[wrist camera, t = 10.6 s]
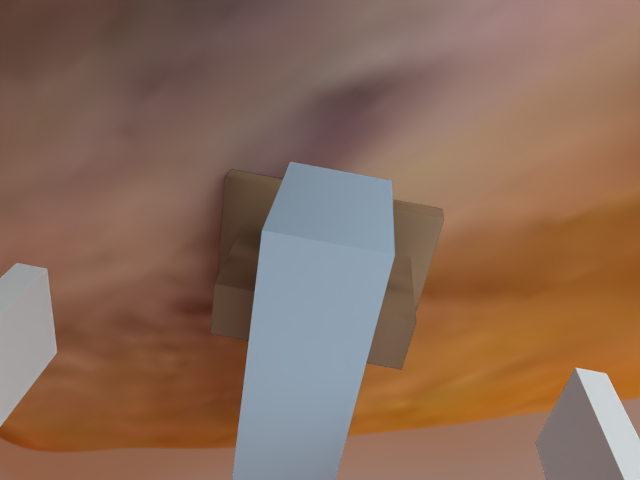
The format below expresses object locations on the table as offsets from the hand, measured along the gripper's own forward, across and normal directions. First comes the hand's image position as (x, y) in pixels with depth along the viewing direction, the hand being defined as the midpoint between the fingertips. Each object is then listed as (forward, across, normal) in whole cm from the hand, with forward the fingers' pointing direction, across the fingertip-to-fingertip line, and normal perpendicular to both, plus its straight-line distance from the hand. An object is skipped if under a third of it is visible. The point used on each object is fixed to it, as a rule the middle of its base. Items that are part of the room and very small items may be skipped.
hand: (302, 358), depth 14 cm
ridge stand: (+13, 0, +5) cm, 14 cm away
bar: (+7, 0, +5) cm, 8 cm away
